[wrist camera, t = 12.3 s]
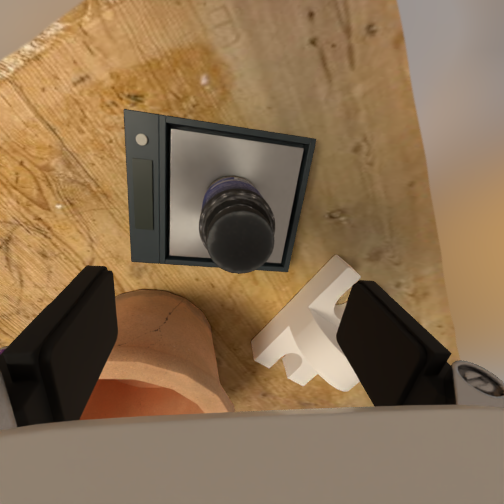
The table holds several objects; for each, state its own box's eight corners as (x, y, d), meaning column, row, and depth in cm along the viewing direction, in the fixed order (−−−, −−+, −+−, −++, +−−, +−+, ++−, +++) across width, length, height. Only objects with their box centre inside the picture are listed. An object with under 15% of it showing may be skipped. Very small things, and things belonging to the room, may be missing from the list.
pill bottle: (191, 195, 27) (175, 230, 17) (241, 162, 26) (257, 179, 16) (223, 241, 29) (227, 296, 19) (270, 213, 29) (299, 255, 19)
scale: (138, 251, 31) (130, 263, 28) (133, 111, 25) (122, 108, 23) (282, 261, 34) (288, 273, 31) (307, 138, 28) (317, 139, 25)
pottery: (29, 326, 34) (-90, 446, 21) (167, 239, 31) (132, 313, 18) (142, 411, 42) (109, 533, 29) (257, 349, 40) (276, 451, 27)
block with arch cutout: (296, 366, 43) (321, 437, 33) (250, 341, 39) (262, 411, 29) (379, 289, 38) (437, 344, 28) (335, 253, 35) (384, 301, 25)
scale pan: (170, 252, 30) (169, 255, 29) (172, 128, 25) (170, 128, 24) (279, 260, 32) (281, 263, 31) (301, 147, 27) (304, 148, 26)
